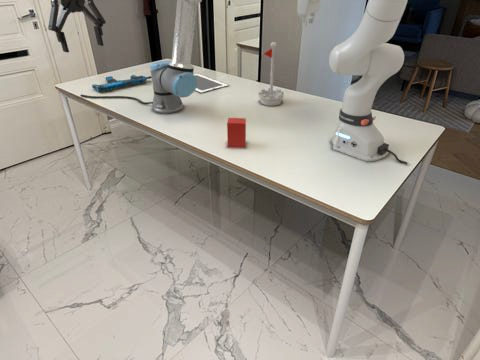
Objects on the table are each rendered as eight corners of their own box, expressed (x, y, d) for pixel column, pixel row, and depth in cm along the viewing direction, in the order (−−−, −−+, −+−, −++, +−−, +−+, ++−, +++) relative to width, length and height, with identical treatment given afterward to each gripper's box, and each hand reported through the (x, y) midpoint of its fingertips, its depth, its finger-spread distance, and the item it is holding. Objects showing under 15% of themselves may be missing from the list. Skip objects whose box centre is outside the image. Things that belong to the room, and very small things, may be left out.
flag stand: (276, 96, 187) (279, 38, 170) (287, 104, 177) (292, 43, 160) (254, 99, 183) (255, 40, 167) (264, 107, 173) (267, 45, 156)
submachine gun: (137, 69, 223) (155, 75, 206) (138, 75, 224) (156, 82, 208) (84, 79, 204) (100, 87, 187) (86, 86, 206) (101, 94, 189)
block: (228, 141, 141) (228, 117, 135) (245, 142, 141) (245, 118, 135) (227, 147, 137) (227, 123, 131) (245, 147, 136) (245, 123, 131)
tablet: (171, 80, 212) (171, 79, 212) (198, 74, 223) (197, 73, 223) (200, 93, 192) (200, 92, 192) (228, 85, 203) (228, 85, 203)
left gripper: (95, -21, 122) (108, 41, 134) (23, -18, 106) (44, 53, 117) (107, -21, 118) (119, 44, 130) (34, -17, 102) (55, 56, 114)
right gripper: (311, -13, 152) (308, 20, 159) (296, -10, 136) (293, 27, 144) (325, -13, 149) (321, 21, 157) (311, -9, 134) (307, 28, 142)
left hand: (84, 48), depth 124 cm, fingers open, 13 cm apart
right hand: (307, 24), depth 150 cm, fingers open, 8 cm apart
